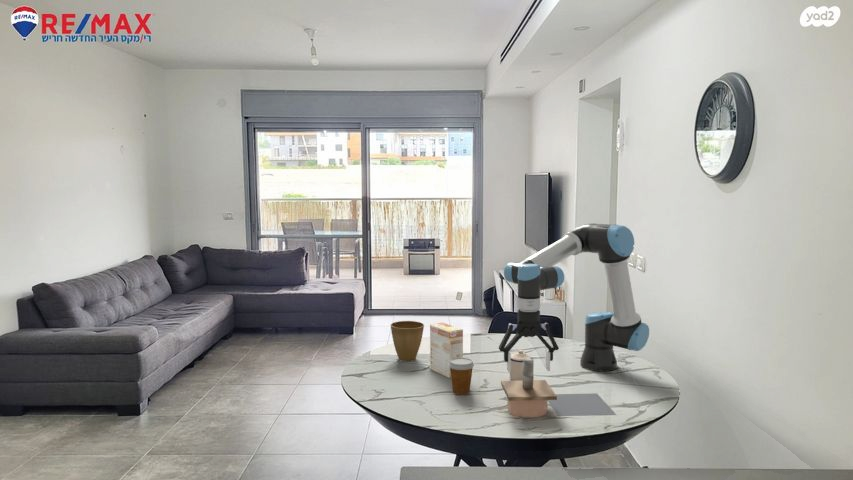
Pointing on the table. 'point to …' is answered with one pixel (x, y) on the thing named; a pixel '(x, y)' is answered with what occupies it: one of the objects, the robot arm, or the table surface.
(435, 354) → the coffeecake box
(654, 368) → the table surface
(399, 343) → the plant pot
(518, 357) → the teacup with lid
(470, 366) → the disposable coffee cup
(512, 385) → the lid board
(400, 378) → the table surface
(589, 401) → the rubber mat
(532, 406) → the bowl
